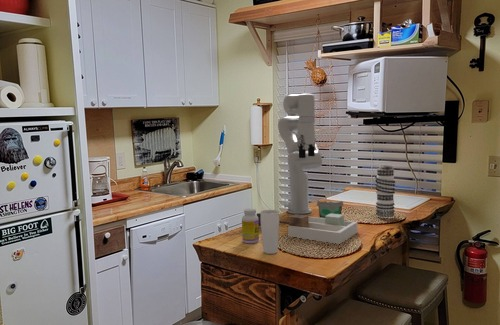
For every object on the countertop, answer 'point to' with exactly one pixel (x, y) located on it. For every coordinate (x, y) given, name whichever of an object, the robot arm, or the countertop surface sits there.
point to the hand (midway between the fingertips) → (306, 157)
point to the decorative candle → (385, 191)
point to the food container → (329, 208)
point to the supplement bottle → (250, 226)
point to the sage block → (334, 219)
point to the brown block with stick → (293, 220)
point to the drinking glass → (270, 230)
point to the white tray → (324, 231)
